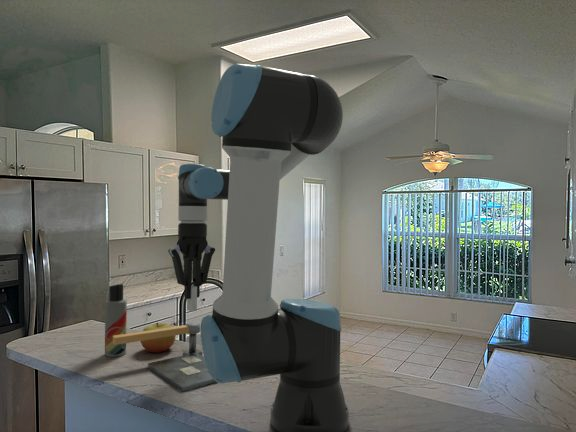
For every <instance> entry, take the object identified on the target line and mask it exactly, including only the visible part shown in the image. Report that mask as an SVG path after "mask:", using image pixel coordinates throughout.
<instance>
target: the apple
mask: <svg viewBox="0 0 576 432" xmlns="http://www.w3.org/2000/svg"><path fill="white" fill-rule="evenodd" d="M169 327H173V325H171V324H169V323H164V322H163V323H159V322H155V323H153V324H149V325H147V326H145V327H144V329H143V330H142V331H148V330H155V329H162V328H169ZM176 336H177V335H174V336H168V337H162V338H156V339H149V340H143V341H140V344H141V346H142V347H143V348H144V350H146V351H147V352H150V353H162V352H165V351H167V350H170V348H171V347H172V346H173V345H174V343H175V341H176V338H177V337H176Z"/></svg>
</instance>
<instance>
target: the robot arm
mask: <svg viewBox="0 0 576 432" xmlns="http://www.w3.org/2000/svg"><path fill="white" fill-rule="evenodd" d="M211 108H212V109H211V116H210V117H211V130H212V132H213V133H214V135H216V136H218V137H219V138H221V137H222V139H221V148H222V150H223V151H224V152H225V153H226V154H227V156H228V157H229V159H230V161H229V169H217V168H214V167H210V166H207V165H205V164H201V163H200V164H199V163H186V164H181V165H180V166H179V168H178V175H177V179H178V208H177V209H178V213H177V214H178V219H177V220H178V221H180V222H179V223H178V225H177V226H178V227H177V237H178V240H177V242H176V246H174V247H173V248H169V249H168V254H169V255H170V257H171V259H172V264H173V267H174V268H173V269H174V272H175V273H174V275H175V277H176V282H177V284H178V285H181V286H183V287H184V291H183V293H184V294H183V295H184V299H186V306H187V307H186V310H187V311H188V312H197V311H198V298H200V296H201V295H200V292H201V290H200V288H201V286H202V285H203V284H206V283H207V280H208V276H209V271H210V267H211V262H212V258H213V255H214V254H215V251H216V248H215V247H212V246H211V245H209V242H208V240H207V236H208V224H207V223H206V222H207V221H208V200H220V201H221V200H226V201H227V212H226V225H225V226H226V227H225V241H224V243H225V245H224V247H225V248H224V260H223V261H224V263H223V278H222V293H221V295H220V296H219V297H218V298H216V299H215V300H214V302H213V303H212V312H211V313H212V314H208V315H205V316H204V317H203V318H201V322H200V339H201V340H200V341H201V347H202V348H201V349H202V354H203V357H204V358H205V362H206V365H207V368H208V370H209V373H210V375H211V376H212V378H213V379H214V380H215V381H216V383H219V384H228V383H238V384H239V383H241V382H242V381H243V382H244V381H247V380H255V379H260V378H265V377H271V376H278V375H279V383H278V386H277V390H276V394H275V397H274V401H273V402H272V404H271V407H270V424H271V426H272V428H273V429H274V430H275V431H276V432H346V431H347V429H348V428H349V425H350V420H349V419H350V418H349V416H350V414H349V413H350V412H349V407H348V405H347V404H346V401H345V399H346V398H345V395H344V391H343V388H342V385H341V380H340V379H341V332H342V326H341V325H342V324H341V315H340V311H339V310H338V308H336V306H334V305H332V304H330V303H326V302H321V301H316V300H312V299H311V300H310V299H301V298H285V299H282V300H281V301H280V304H278V303H277V302H276V300H274V298H273V297H272V287H273V273H274V258H275V249H276V248H275V247H276V246H275V245H276V235H277V234H276V232H277V221H278V220H277V217H278V205H279V192H280V181H281V180H282V179H283V178H284V177H285V176H286V175H288V174H289V173H290V172H291V171H292V170H294V169H295V168H296V167H297V166H298V165H300V164H301V163H302V162H303V161H304V160H306V159H307V158H308V157H309V156H315V155H316V156H317V155H319V154H321V153H323V151H324V150H326V149H327V148H329V147H330V145H332V143H334V141H335V140H336V138H337V137H338V135H339V133H340V131H341V128H342V125H343V116H344V115H343V112H344V111H343V106H342V102H341V100H340V97H339V96H338V93H337V91H335V89H334V88H333V87H332V85H330V83H328V82H327V81H326V80H324V79H322V78H320V77H317V76H315V75H312V74H303V73H300V72H293V71H288V70H285V69H278V68H275V67H269V66H264V65H261V64H248V63H247V64H245V63H244V64H243V63H234V64H232V65H230V66H228V67H227V68H226V70H225V71H224V72H223V74H222V76H221V77H220V79H219V82H218V84H217V87H216V90H215V94H214V98H213V102H212V107H211ZM203 253H204V254H203ZM180 254H182V259H181V255H180ZM182 260H183V263H182Z"/></svg>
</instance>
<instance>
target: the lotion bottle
mask: <svg viewBox="0 0 576 432" xmlns="http://www.w3.org/2000/svg"><path fill="white" fill-rule="evenodd" d="M127 305H128V301H127V300H126V299H124V284H122V283H117V284H113V285H109V286H108V300H106V301H105V303H104V307H105V308H104V309H105V310H104V355H105V357H107V358H108V357H109V358H116V357H120V356H124V355H125V354H126V353H127V343H124V344H118V345H114V344H113V336H114V335H121V334H127V322H128V321H127V318H128V317H127V316H128V315H127V309H128V307H127Z"/></svg>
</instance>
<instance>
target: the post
mask: <svg viewBox="0 0 576 432" xmlns="http://www.w3.org/2000/svg"><path fill="white" fill-rule="evenodd" d="M188 335H189V337H188V339H189V340H188V349H187V350H183V351H182V355H187V354H192V353H198V354H200V355H202V356H203V350H202V351H201V350H199V348H197V333H196V334H188Z"/></svg>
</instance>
